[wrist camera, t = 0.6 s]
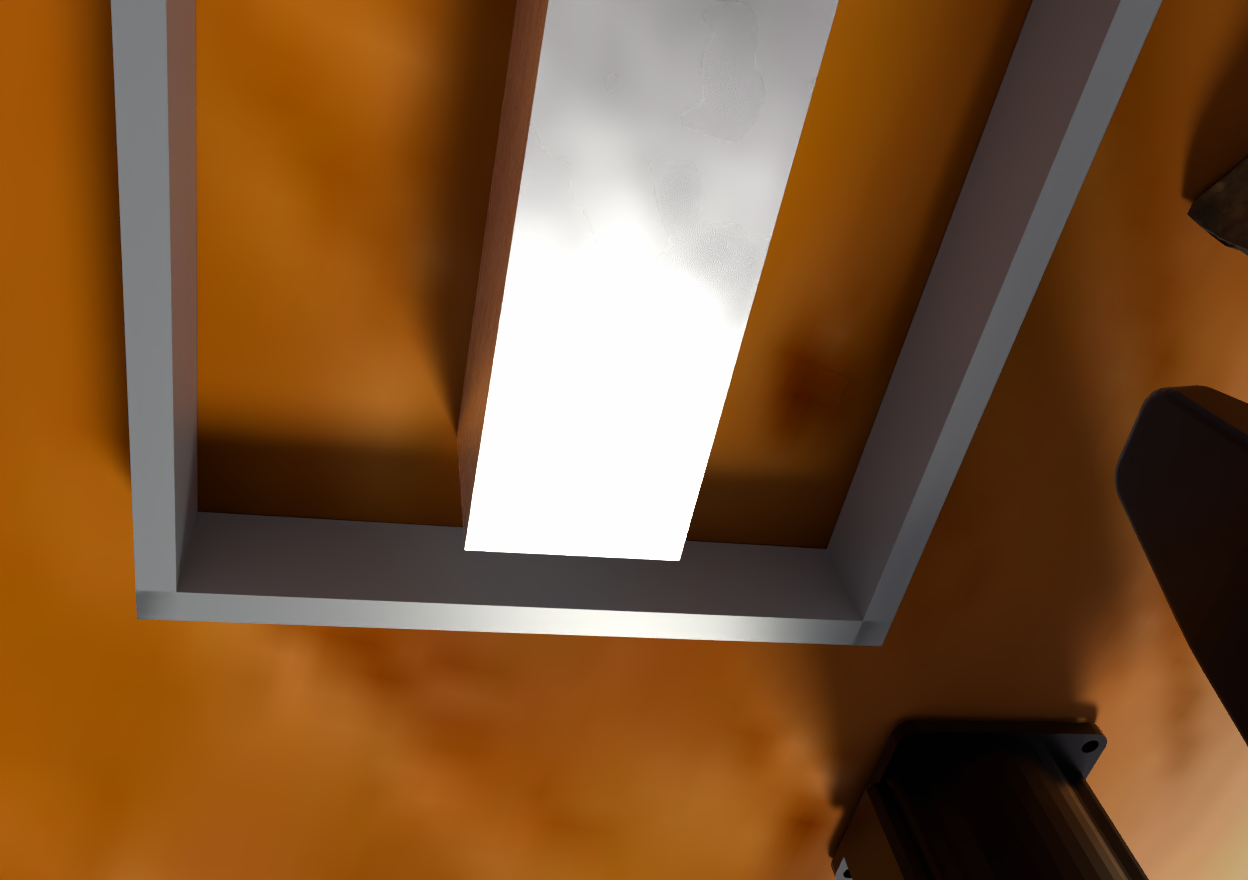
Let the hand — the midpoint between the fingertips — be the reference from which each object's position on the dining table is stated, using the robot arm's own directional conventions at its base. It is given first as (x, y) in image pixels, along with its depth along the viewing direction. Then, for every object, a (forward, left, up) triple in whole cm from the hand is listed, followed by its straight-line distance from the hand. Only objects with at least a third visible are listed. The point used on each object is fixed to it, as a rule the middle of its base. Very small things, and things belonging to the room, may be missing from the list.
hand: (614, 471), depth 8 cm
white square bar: (-2, 0, -13) cm, 13 cm away
